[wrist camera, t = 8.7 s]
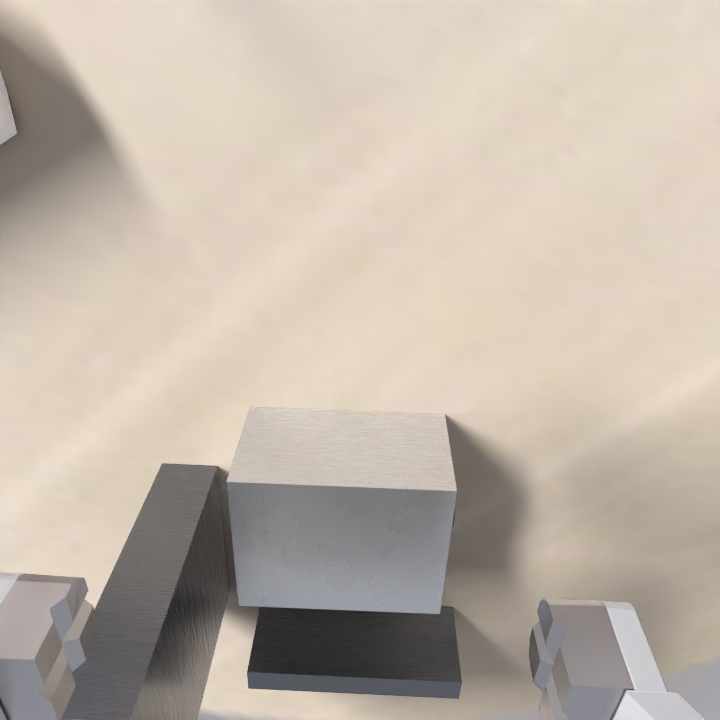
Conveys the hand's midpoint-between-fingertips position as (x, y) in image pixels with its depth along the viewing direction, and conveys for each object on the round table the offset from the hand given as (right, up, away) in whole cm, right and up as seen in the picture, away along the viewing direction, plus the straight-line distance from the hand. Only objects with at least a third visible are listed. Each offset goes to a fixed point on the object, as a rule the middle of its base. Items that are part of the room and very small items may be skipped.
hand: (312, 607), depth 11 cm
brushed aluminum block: (0, -1, +23) cm, 23 cm away
